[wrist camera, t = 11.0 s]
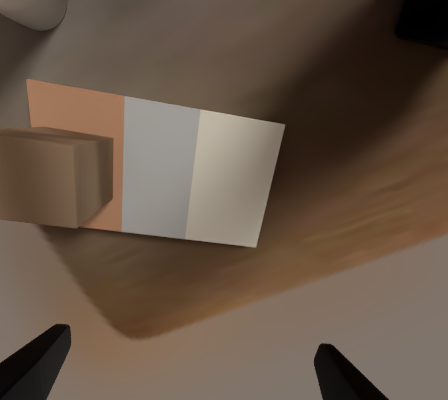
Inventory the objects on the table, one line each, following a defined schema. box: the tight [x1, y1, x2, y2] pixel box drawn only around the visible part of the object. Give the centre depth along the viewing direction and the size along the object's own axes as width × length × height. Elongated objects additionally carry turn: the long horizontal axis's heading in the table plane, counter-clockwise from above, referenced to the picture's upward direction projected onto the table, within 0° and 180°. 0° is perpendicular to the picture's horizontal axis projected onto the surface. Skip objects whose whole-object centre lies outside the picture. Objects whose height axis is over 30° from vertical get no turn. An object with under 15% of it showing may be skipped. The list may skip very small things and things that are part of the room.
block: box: [0, 127, 114, 228], centre depth 14 cm, size 4×4×5 cm
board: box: [26, 79, 285, 247], centre depth 18 cm, size 17×10×1 cm, turn 81°
